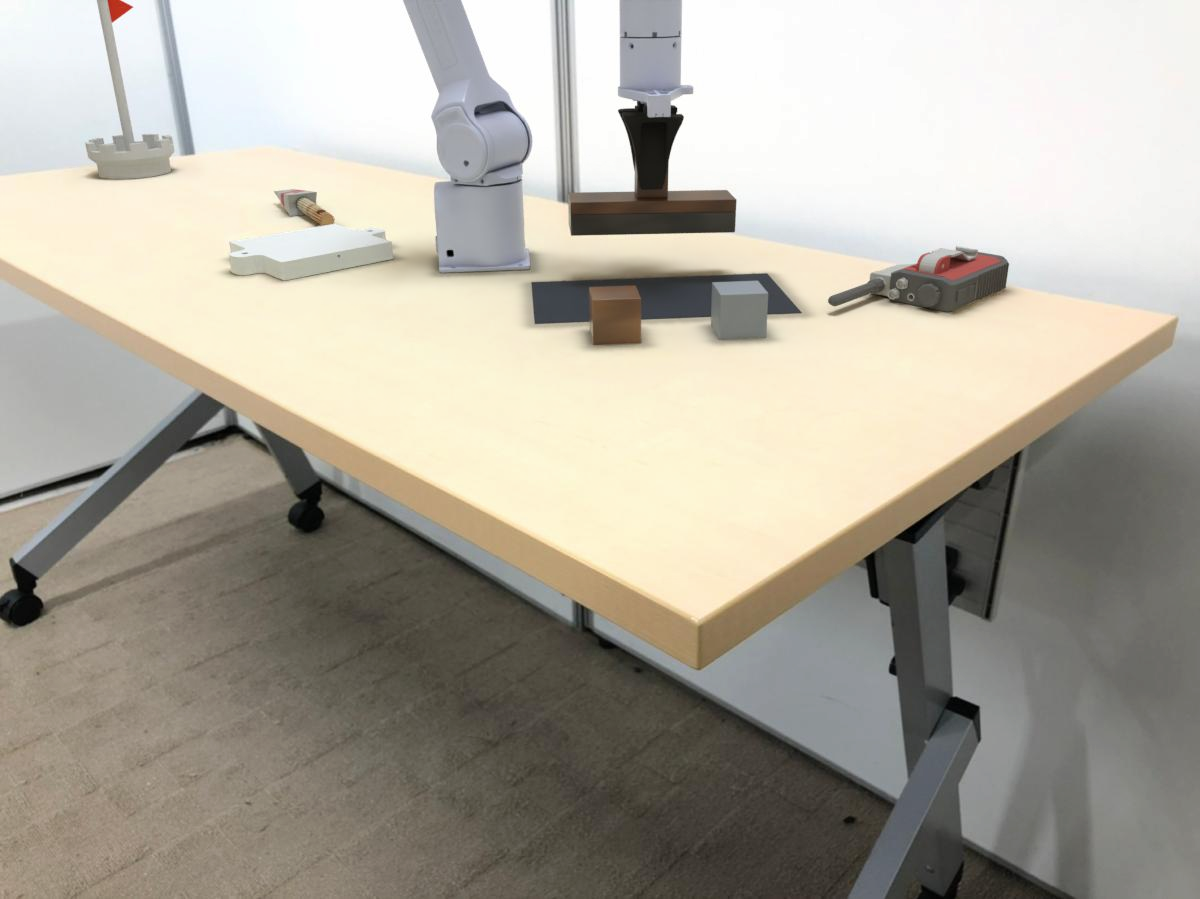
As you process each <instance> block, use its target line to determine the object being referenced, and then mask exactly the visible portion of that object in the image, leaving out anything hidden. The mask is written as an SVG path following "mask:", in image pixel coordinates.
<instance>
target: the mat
mask: <svg viewBox="0 0 1200 899" xmlns="http://www.w3.org/2000/svg"><path fill="white" fill-rule="evenodd" d="M735 281H759V283H760V284H761V285H762V286H763V287H764V289H765V290H766V291H767V292H768V311H767V316H769V315H772V316H773V315H795V314H797V315H798V314H803V312H802V311H801V310H800V308H799V307H798V306H797V305H796V304H795V302H793V301H792V300H791V298H789V296H788V295H787V294H786V293H785V292H784V291H783V289H782V288H781V287H780V286H779V284H778V283H777V282H776V281H774V279H773V278H772V277H771V276H770V275H769V273H768V272H765V273H763V272H762V273H734V274H709V275H685V276H683V275H682V276H657V277H633V278H631V277H630V278H629V277H628V278H608V279H607V278H605V279H581V280H580V279H579V280H555V281H554V280H553V281H552V280H551V281H531V283H530V284H531V294H532V308H533V309H532V310H533V319H534V320H533V321H534V325H549V324H570V323H571V324H572V323H573V324H574V323H590V316H589V287H605V286H632V285H635V286H636V288H637V290H638V293H639V295H640V297H641V321H645V320H647V321H648V320H670V319H671V320H672V319H693V318H694V319H696V318H711V305H712V282H735Z"/></svg>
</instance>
